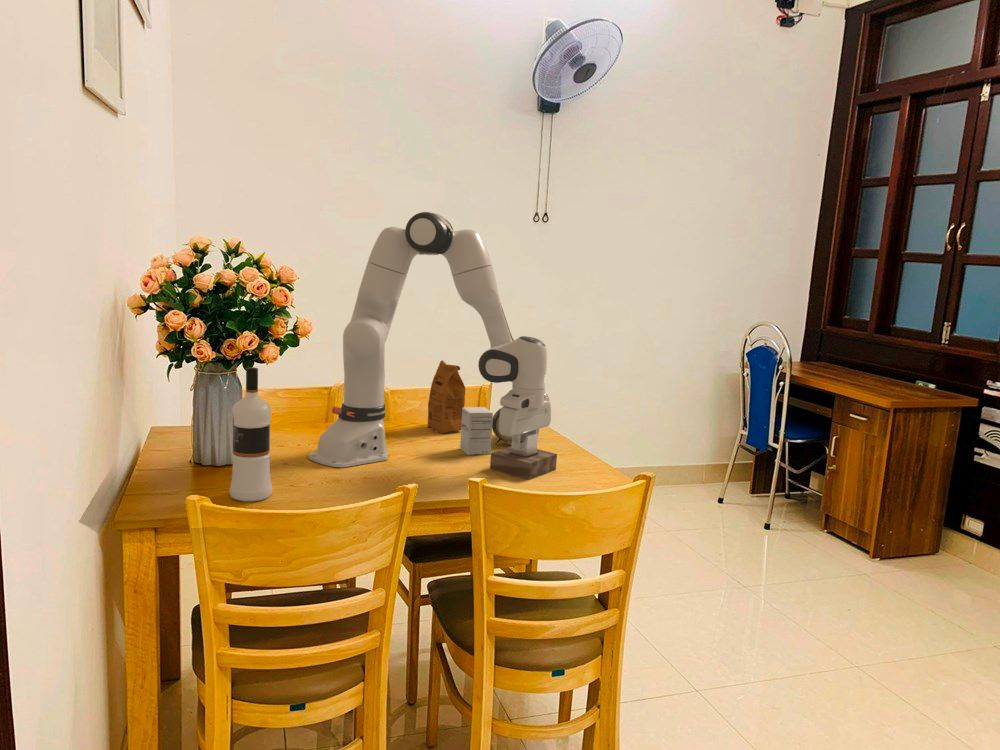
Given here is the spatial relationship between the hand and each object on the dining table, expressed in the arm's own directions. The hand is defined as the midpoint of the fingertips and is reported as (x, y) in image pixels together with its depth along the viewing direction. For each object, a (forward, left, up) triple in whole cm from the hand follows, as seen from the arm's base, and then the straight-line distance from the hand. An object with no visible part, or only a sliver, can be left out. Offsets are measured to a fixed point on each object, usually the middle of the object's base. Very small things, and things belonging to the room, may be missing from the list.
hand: (524, 446), depth 207 cm
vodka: (-65, +31, -7) cm, 72 cm away
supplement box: (+4, +20, -7) cm, 21 cm away
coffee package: (+17, +43, -7) cm, 47 cm away
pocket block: (0, 0, -6) cm, 6 cm away
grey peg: (0, 0, -6) cm, 6 cm away
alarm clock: (+18, +18, -7) cm, 26 cm away
